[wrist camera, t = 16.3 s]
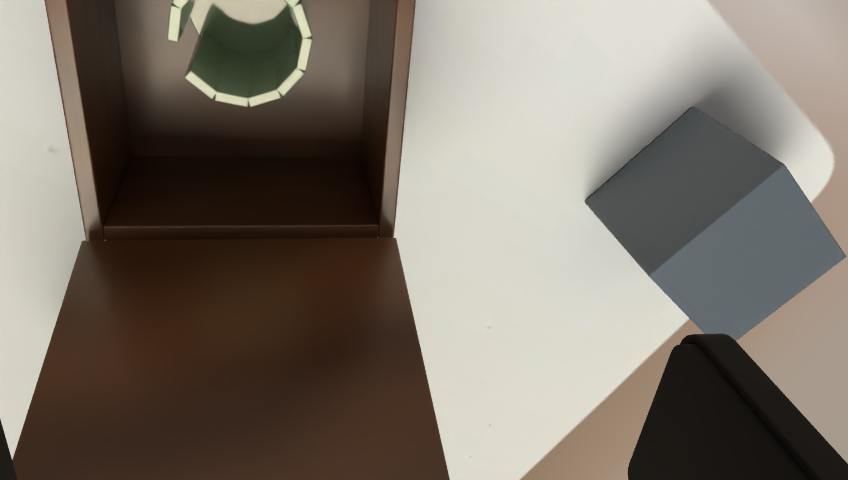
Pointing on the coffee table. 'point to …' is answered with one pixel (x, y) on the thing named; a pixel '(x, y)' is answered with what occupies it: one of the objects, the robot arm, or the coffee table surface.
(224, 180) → the chest
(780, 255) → the slate grey cube
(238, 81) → the cup
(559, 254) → the coffee table surface
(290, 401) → the lid
